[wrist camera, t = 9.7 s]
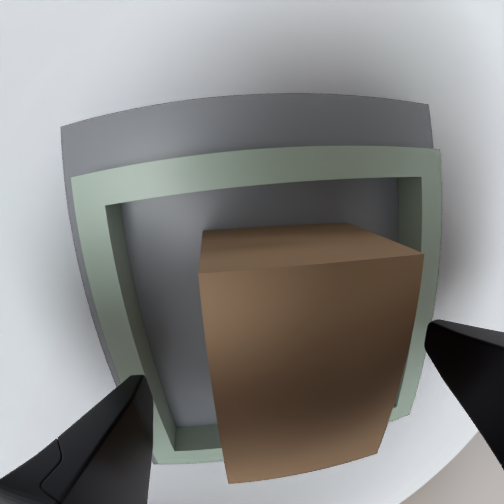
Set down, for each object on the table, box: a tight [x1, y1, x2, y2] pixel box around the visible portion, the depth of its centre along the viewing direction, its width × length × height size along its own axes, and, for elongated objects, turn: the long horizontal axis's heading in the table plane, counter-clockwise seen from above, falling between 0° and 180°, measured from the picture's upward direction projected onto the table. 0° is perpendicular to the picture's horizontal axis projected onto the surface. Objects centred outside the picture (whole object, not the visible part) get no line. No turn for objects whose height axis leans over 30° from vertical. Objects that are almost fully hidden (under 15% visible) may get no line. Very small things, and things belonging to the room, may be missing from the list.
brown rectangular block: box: [198, 222, 424, 484], centre depth 9 cm, size 7×5×4 cm
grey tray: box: [61, 93, 442, 464], centre depth 11 cm, size 16×14×2 cm
